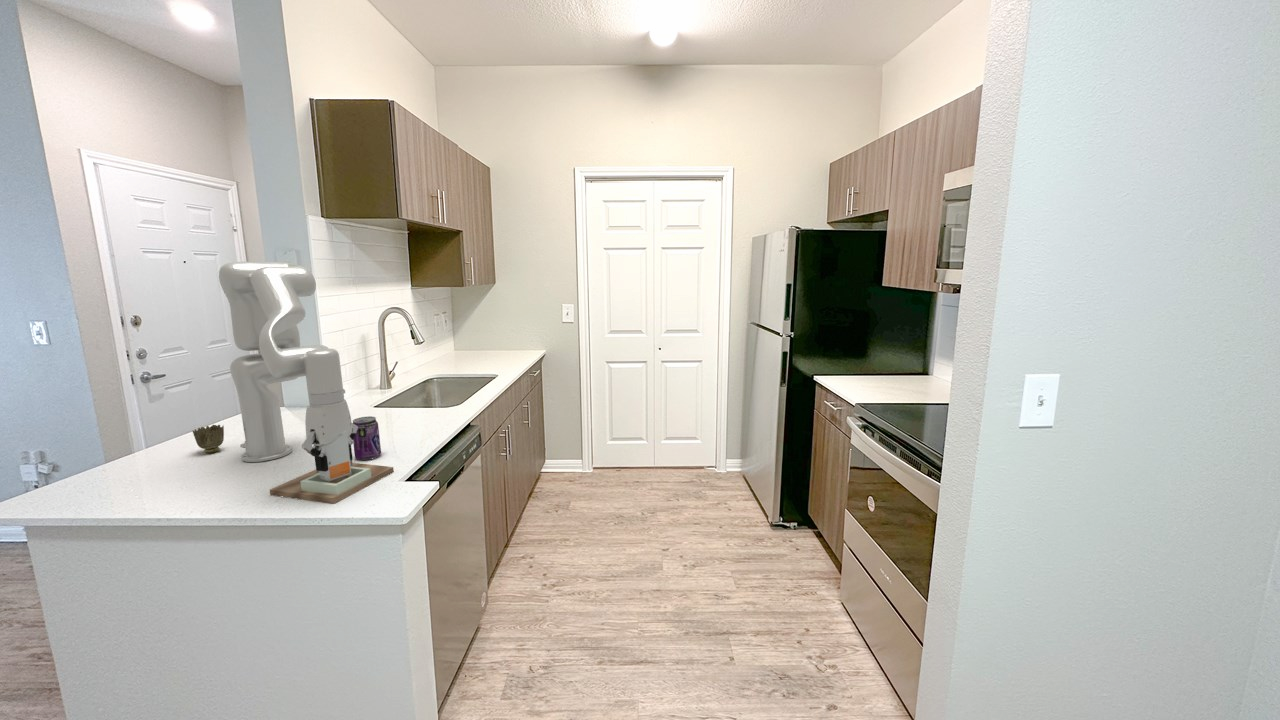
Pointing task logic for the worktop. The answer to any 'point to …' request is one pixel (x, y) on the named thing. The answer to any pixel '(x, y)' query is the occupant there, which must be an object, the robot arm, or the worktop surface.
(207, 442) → the cup
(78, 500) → the worktop surface
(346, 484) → the green square frame
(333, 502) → the carrier plate
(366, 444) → the beverage can
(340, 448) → the skincare box
